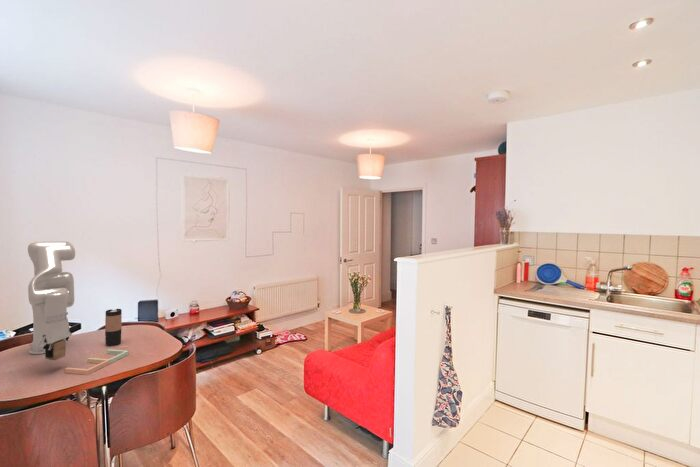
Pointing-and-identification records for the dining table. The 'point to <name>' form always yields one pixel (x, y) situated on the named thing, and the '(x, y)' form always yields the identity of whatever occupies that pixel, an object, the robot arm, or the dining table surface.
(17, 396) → the dining table surface
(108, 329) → the travel mug
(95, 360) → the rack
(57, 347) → the walnut block
